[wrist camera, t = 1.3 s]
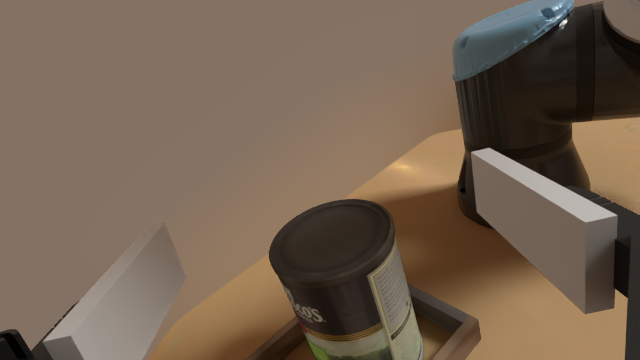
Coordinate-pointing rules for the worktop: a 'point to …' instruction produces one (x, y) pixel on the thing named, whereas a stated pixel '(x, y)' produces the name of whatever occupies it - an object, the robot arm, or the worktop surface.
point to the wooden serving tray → (424, 304)
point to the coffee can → (347, 282)
